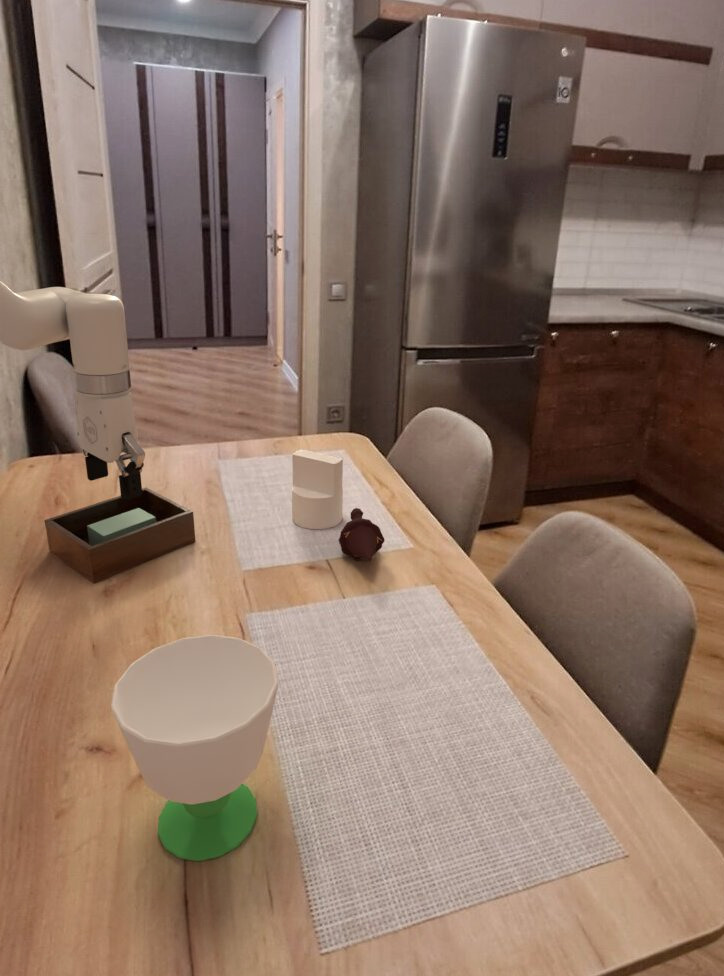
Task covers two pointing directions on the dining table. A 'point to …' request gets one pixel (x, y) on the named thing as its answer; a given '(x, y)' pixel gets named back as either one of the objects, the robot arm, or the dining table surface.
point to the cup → (199, 736)
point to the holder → (125, 550)
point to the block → (118, 525)
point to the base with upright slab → (316, 490)
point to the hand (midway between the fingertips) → (114, 487)
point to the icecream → (360, 537)
